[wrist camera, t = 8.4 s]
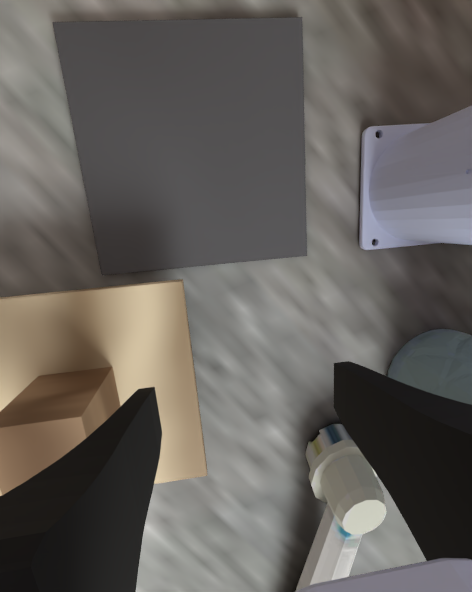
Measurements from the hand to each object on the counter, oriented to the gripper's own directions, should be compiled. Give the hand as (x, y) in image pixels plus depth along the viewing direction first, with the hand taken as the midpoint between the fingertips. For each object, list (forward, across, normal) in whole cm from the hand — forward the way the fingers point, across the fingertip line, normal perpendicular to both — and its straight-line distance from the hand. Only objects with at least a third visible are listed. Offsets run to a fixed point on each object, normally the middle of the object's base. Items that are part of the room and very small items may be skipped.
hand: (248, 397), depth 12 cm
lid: (+6, +9, +3) cm, 11 cm away
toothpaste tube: (+11, -6, +23) cm, 26 cm away
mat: (+10, +1, -11) cm, 15 cm away
